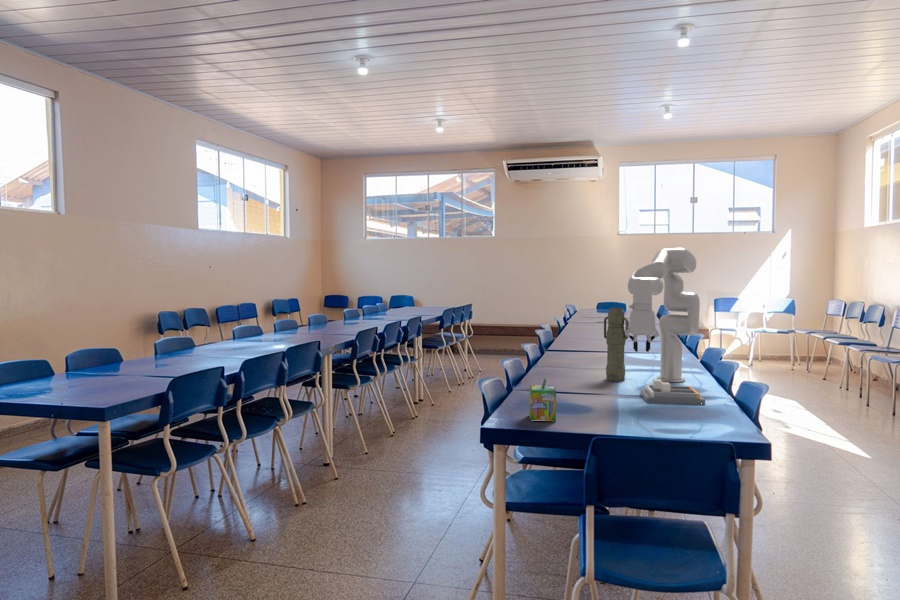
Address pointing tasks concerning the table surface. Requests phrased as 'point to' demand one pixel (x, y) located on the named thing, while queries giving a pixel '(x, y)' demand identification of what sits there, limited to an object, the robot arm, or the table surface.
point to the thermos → (615, 344)
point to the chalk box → (542, 402)
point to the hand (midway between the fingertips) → (641, 350)
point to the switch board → (672, 395)
